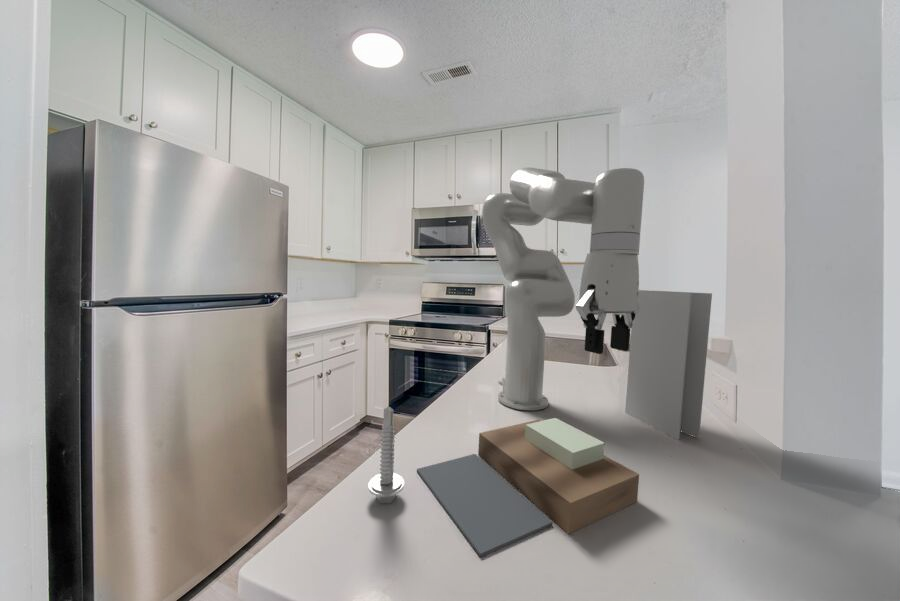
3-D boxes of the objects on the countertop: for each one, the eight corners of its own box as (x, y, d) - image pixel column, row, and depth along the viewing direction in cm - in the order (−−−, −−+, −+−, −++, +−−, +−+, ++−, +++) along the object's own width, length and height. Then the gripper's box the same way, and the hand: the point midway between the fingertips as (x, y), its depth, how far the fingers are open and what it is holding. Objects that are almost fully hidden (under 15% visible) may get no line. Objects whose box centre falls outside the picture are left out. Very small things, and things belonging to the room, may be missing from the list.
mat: (416, 471, 52) (416, 468, 52) (474, 456, 57) (475, 453, 57) (479, 557, 36) (480, 553, 36) (552, 525, 42) (552, 522, 42)
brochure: (699, 438, 68) (712, 293, 66) (678, 440, 67) (690, 292, 65) (643, 410, 82) (653, 290, 80) (625, 412, 80) (634, 289, 78)
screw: (402, 509, 43) (365, 510, 43) (404, 486, 48) (371, 487, 48) (405, 413, 43) (367, 413, 42) (407, 400, 47) (373, 399, 47)
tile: (524, 438, 56) (525, 424, 56) (554, 431, 59) (555, 417, 59) (571, 469, 47) (572, 452, 47) (603, 458, 51) (604, 442, 50)
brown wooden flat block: (478, 455, 58) (479, 433, 57) (537, 439, 64) (538, 419, 64) (568, 534, 40) (570, 503, 40) (637, 501, 47) (639, 474, 47)
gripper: (624, 251, 63) (617, 343, 64) (560, 243, 55) (554, 349, 56) (665, 249, 57) (657, 352, 58) (600, 239, 48) (591, 360, 49)
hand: (606, 349), depth 57 cm, fingers open, 6 cm apart
